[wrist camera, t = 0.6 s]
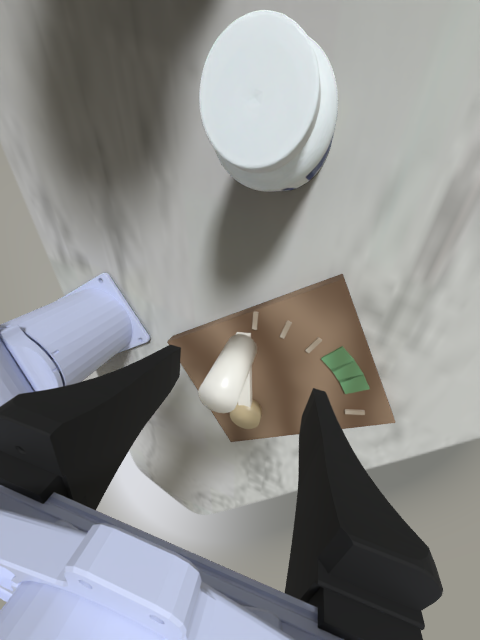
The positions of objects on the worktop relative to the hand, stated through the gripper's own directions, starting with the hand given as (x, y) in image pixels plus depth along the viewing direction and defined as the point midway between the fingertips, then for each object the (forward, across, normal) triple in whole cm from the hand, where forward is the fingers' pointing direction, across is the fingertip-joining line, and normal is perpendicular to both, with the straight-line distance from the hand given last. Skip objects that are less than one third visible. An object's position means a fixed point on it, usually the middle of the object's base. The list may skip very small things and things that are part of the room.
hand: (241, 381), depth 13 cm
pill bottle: (+10, +2, -12) cm, 15 cm away
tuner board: (+10, -2, +6) cm, 12 cm away
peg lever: (+8, 0, +7) cm, 11 cm away
